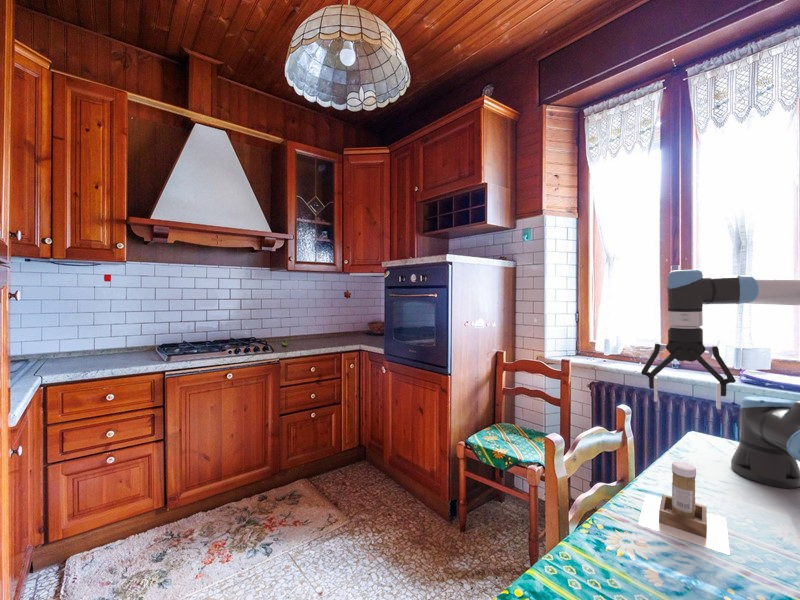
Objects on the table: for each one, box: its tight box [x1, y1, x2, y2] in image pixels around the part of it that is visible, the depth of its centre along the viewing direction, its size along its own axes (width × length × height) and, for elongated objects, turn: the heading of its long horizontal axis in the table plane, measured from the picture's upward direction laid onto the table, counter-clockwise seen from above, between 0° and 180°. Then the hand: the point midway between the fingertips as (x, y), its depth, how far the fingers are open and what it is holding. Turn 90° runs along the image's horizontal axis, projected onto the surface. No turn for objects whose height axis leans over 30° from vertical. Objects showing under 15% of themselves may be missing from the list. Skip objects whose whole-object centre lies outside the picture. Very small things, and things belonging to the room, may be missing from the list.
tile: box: [637, 494, 731, 556], centre depth 88 cm, size 16×16×1 cm
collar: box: [659, 493, 708, 538], centre depth 88 cm, size 9×9×3 cm
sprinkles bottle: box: [671, 460, 697, 519], centre depth 88 cm, size 5×5×13 cm
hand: (685, 404), depth 102 cm, fingers open, 13 cm apart
